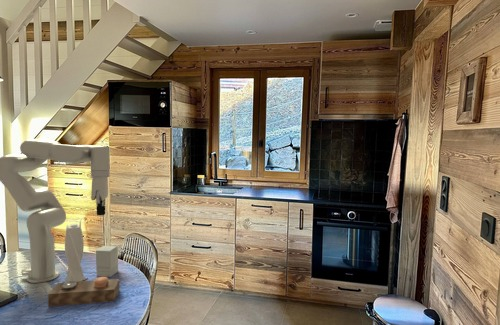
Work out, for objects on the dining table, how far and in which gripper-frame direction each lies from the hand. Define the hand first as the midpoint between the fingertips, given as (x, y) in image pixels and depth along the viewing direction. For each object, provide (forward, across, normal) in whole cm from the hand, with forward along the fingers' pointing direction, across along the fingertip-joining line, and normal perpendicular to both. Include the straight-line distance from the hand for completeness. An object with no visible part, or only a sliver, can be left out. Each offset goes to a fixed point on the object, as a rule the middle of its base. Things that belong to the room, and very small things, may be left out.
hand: (101, 214), depth 145 cm
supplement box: (+31, -10, 0) cm, 33 cm away
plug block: (+31, +14, -3) cm, 34 cm away
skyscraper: (+31, -3, -12) cm, 34 cm away
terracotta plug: (+30, +14, +3) cm, 33 cm away
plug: (+31, +14, -9) cm, 35 cm away
